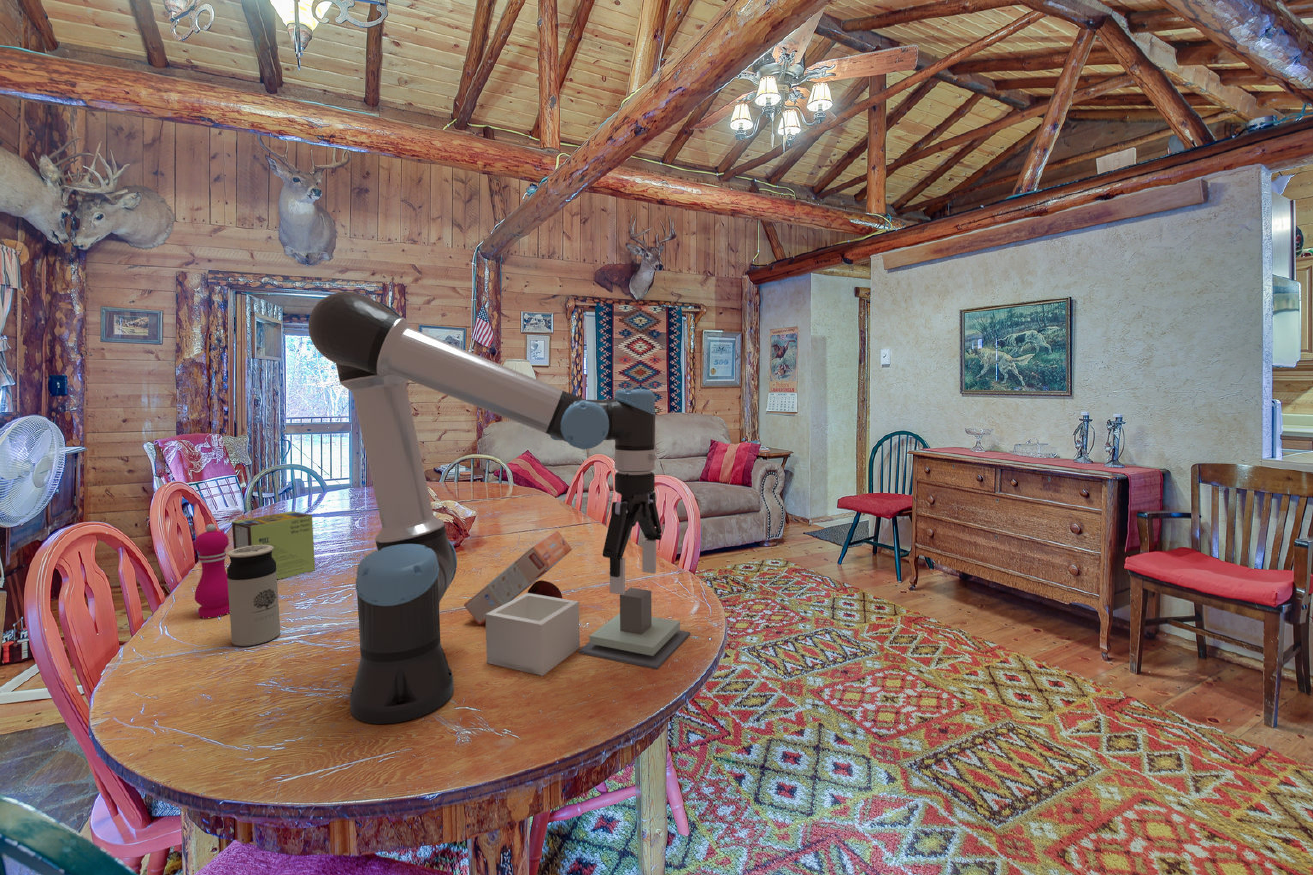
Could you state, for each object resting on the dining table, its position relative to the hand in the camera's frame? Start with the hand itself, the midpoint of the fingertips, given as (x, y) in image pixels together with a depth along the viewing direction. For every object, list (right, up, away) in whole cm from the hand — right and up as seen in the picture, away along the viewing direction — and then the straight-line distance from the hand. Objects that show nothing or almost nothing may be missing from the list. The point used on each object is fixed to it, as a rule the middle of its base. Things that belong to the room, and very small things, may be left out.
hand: (634, 582), depth 113 cm
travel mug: (-75, -12, +4) cm, 76 cm away
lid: (0, -12, +1) cm, 12 cm away
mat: (0, -12, +1) cm, 12 cm away
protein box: (-97, -9, +45) cm, 107 cm away
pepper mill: (-93, -11, +18) cm, 95 cm away
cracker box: (-33, -9, +17) cm, 38 cm away
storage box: (-18, -13, -4) cm, 22 cm away
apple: (-20, -11, +15) cm, 27 cm away
